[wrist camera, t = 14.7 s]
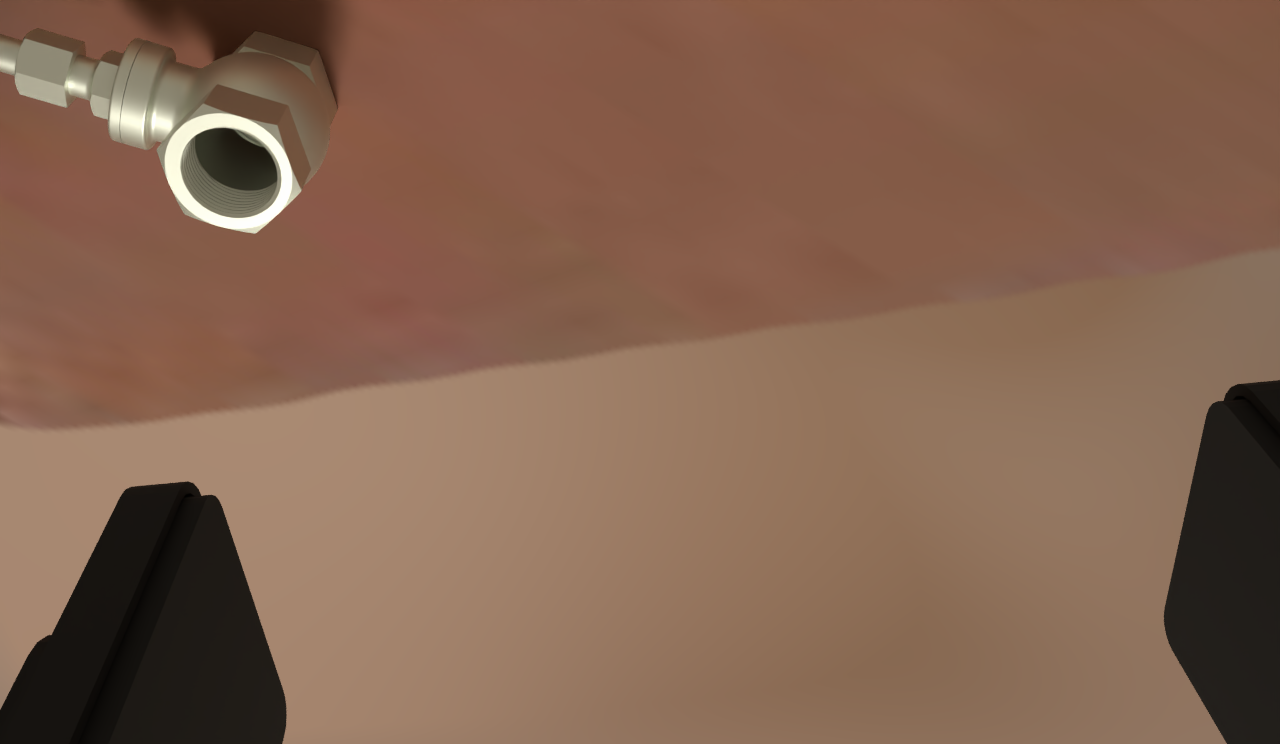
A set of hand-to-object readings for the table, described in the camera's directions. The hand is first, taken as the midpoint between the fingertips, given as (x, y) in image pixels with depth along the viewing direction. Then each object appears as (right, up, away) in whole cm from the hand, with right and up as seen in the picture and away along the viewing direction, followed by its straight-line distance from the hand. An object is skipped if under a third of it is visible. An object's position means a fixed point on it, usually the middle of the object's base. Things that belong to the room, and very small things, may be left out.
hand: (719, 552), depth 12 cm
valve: (-16, +12, +25) cm, 32 cm away
